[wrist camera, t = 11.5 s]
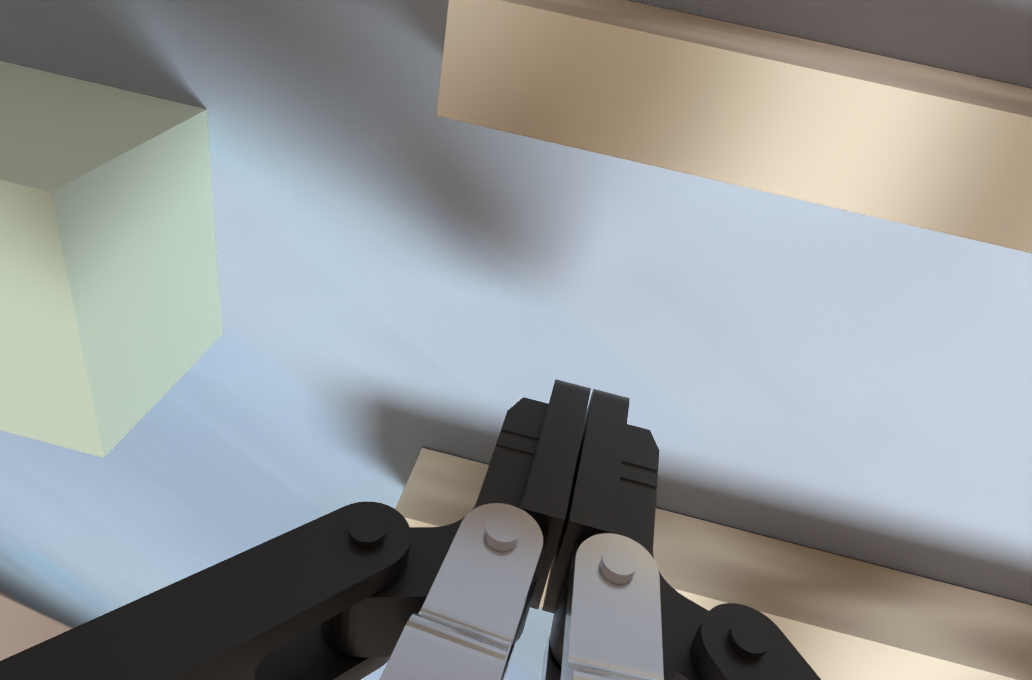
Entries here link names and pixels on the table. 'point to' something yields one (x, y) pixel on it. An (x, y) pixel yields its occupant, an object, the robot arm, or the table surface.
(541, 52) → the parallel wooden bars
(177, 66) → the table surface
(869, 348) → the table surface
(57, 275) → the sage block
